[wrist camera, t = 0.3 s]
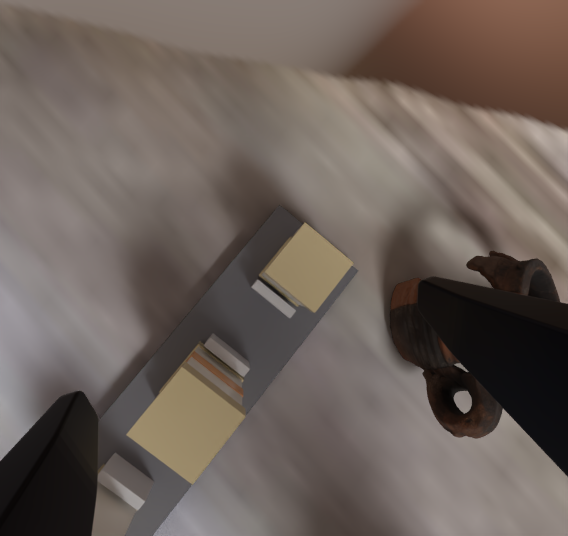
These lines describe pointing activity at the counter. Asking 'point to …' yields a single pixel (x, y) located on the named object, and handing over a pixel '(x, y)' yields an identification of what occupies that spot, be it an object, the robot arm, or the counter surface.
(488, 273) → the pottery mug
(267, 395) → the counter surface
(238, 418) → the block
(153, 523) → the block
